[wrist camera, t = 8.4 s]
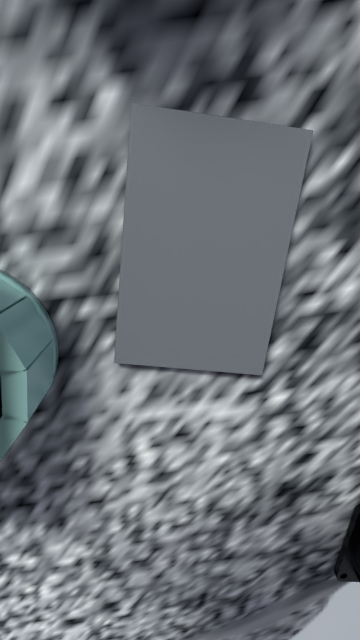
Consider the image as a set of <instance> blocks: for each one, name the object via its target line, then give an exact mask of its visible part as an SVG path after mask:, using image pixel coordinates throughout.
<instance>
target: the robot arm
mask: <svg viewBox="0 0 360 640" xmlns="http://www.w3.org/2000/svg"><path fill="white" fill-rule="evenodd" d="M334 573H335V575H336V577H337V579H338V580H339V581H349V582H360V505H358V506H357V507H356V508H355V511H354V514H353V517H352V520H351V522H350V525H349V528H348V531H347V534H346V537H345V540H344V543H343V546H342V549H341V552H340V555H339V557H338V560H337V563H336V566H335V569H334Z"/></svg>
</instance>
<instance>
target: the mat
mask: <svg viewBox="0 0 360 640" xmlns="http://www.w3.org/2000/svg"><path fill="white" fill-rule="evenodd" d="M312 134H313V130H307V129H300V128H294V127H287V126H281V125H274V124H268V123H261V122H254V121H248V120H241V119H235V118H228V117H221V116H215V115H208V114H202V113H195V112H189V111H182V110H175V109H169V108H162V107H156V106H149V105H143V104H136V103H131V116H130V131H129V146H128V161H127V176H126V192H125V207H124V222H123V237H122V252H121V267H120V282H119V297H118V312H117V328H116V343H115V358H114V363H121V364H133V365H145V366H157V367H169V368H181V369H193V370H205V371H217V372H229V373H241V374H252V375H262V373H263V368H264V363H265V359H266V354H267V349H268V344H269V339H270V335H271V330H272V325H273V320H274V316H275V311H276V306H277V301H278V296H279V292H280V287H281V282H282V277H283V273H284V268H285V263H286V258H287V253H288V249H289V244H290V239H291V234H292V230H293V225H294V220H295V215H296V210H297V206H298V201H299V196H300V191H301V187H302V182H303V177H304V172H305V168H306V163H307V158H308V153H309V148H310V144H311V139H312Z"/></svg>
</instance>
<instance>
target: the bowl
mask: <svg viewBox="0 0 360 640" xmlns="http://www.w3.org/2000/svg"><path fill="white" fill-rule="evenodd" d="M58 359H59V346H58V339H57V334H56V331H55V328H54V325H53V322H52V320H51V318H50V316H49V314H48V312H47V311H46V309H45V308H44V306H43V305H42V303H41V302H40V301H39V300H38V298H37V297H36V296H35V295H34V294H33V293H32V292H31V291H30V290H29V289H28V288H27V287H26V286H25V285H24V284H22V283H21V282H20V281H18V280H17V279H15V278H14V277H12V276H11V275H9V274H7V273H5V272H4V271H2V270H0V461H1V460H2V458H3V457H4V455H5V454H6V453H7V451H8V450H9V448H10V447H11V445H12V444H13V443H14V441H15V440H16V438H17V437H18V436H19V434H20V433H21V431H22V430H23V428H24V427H25V426H26V424H27V423H28V421H29V420H30V418H31V416H32V415H33V413H34V412H35V410H36V409H37V407H38V405H39V404H40V402H41V401H42V399H43V398H44V396H45V394H46V393H47V391H48V390H49V388H50V387H51V385H52V383H53V379H54V376H55V374H56V370H57V366H58Z"/></svg>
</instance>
